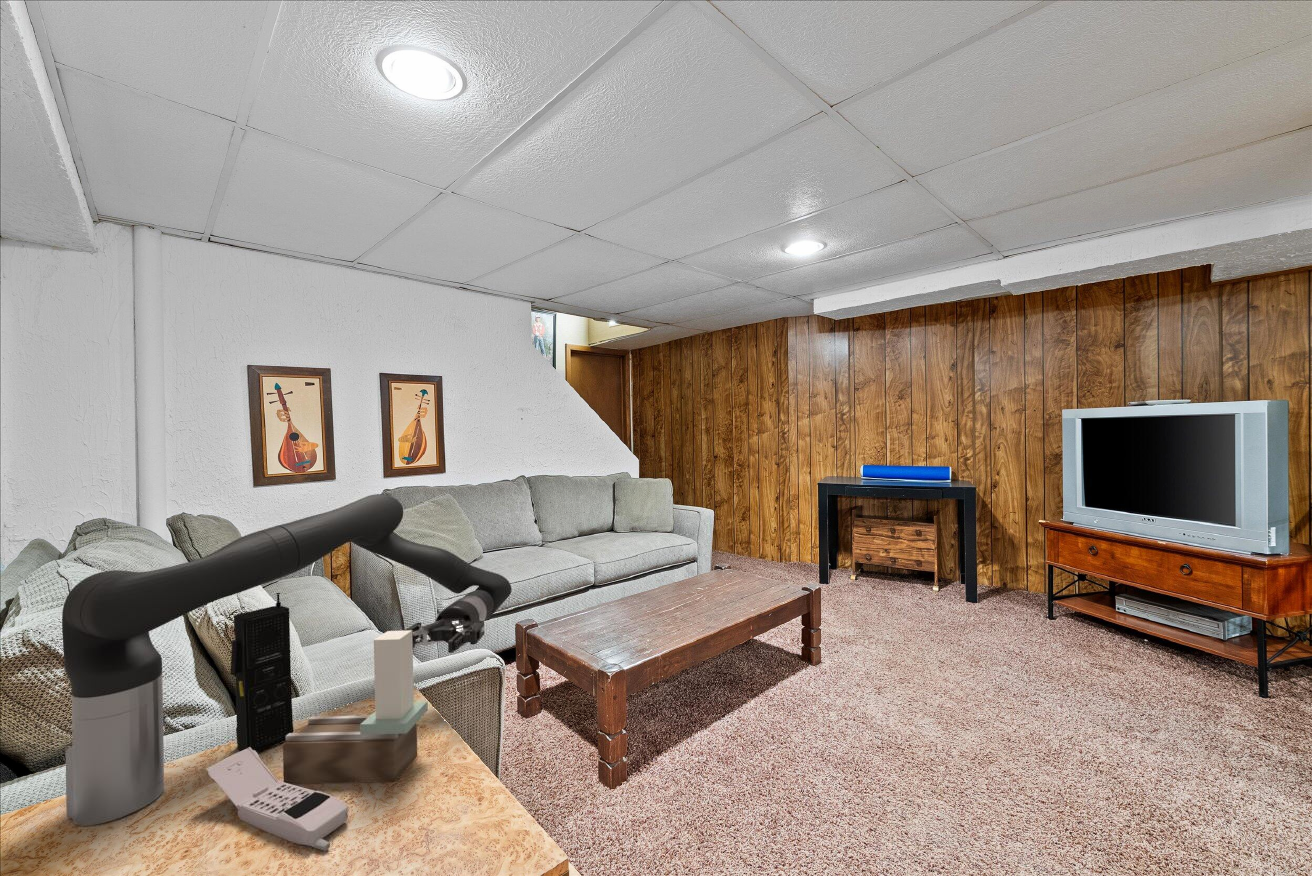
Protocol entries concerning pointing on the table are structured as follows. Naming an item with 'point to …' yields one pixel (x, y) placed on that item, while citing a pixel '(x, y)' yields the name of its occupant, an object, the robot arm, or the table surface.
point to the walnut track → (345, 752)
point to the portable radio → (262, 677)
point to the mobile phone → (277, 801)
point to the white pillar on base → (394, 686)
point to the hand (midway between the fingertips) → (426, 647)
